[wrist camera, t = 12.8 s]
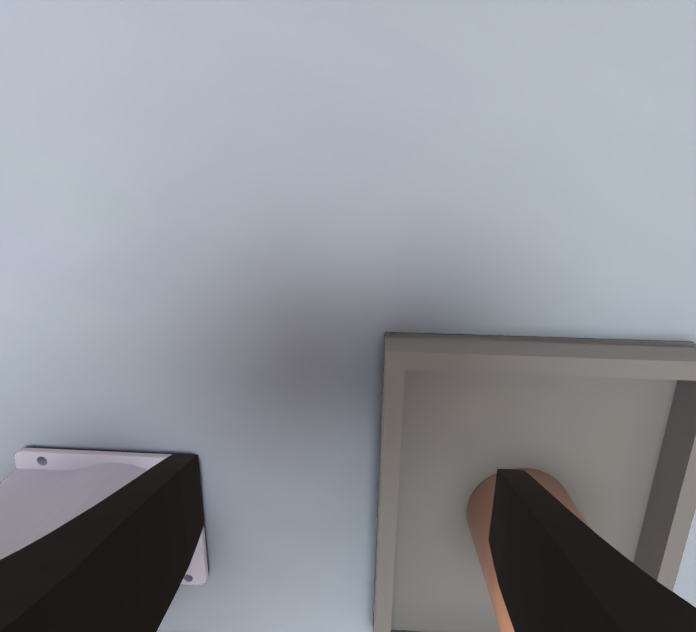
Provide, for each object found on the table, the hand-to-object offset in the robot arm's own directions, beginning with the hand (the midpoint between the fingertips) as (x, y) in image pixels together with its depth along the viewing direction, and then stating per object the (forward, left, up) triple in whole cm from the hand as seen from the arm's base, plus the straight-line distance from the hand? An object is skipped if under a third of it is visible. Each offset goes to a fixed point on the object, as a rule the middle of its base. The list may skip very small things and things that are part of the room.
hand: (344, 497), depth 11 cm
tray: (+8, -8, -10) cm, 15 cm away
